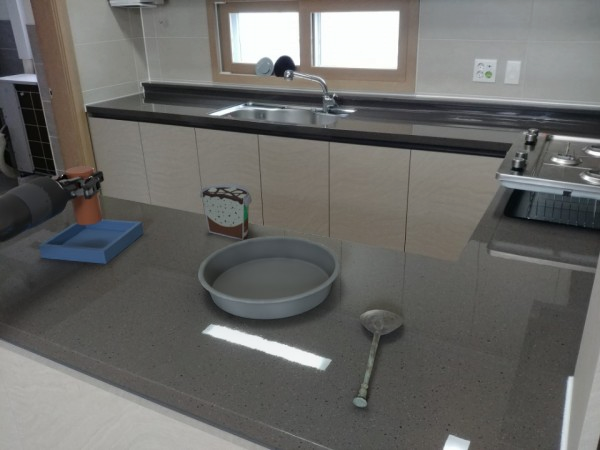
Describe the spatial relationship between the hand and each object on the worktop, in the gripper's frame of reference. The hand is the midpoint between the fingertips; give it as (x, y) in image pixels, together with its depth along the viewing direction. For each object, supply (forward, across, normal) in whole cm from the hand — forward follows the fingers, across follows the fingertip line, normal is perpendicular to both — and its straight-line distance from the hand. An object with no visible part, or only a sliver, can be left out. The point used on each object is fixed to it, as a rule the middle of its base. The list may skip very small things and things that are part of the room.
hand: (88, 175), depth 110 cm
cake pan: (-12, -42, +15) cm, 46 cm away
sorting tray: (-2, 0, +15) cm, 15 cm away
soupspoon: (-28, -62, +15) cm, 70 cm away
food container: (+10, -27, +15) cm, 32 cm away
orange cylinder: (-3, 0, +9) cm, 9 cm away
